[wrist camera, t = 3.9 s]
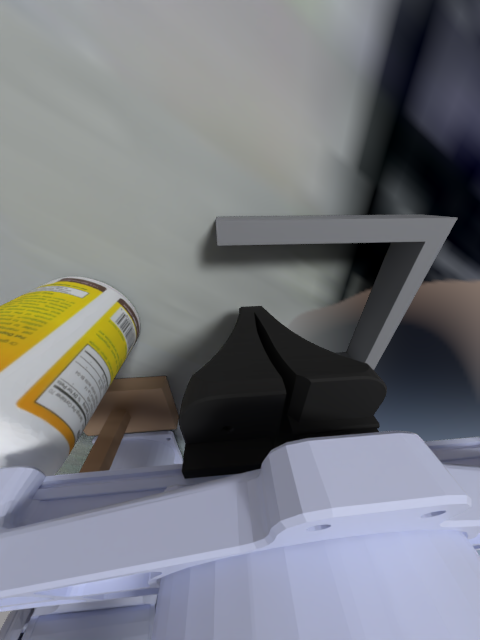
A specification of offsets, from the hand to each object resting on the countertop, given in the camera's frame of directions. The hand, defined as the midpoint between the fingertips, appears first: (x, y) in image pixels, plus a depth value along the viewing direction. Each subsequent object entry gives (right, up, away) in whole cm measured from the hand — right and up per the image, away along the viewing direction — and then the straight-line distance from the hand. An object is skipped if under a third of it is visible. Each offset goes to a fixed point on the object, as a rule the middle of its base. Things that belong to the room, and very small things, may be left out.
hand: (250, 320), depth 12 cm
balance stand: (-11, -7, +5) cm, 14 cm away
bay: (+3, +1, +1) cm, 4 cm away
